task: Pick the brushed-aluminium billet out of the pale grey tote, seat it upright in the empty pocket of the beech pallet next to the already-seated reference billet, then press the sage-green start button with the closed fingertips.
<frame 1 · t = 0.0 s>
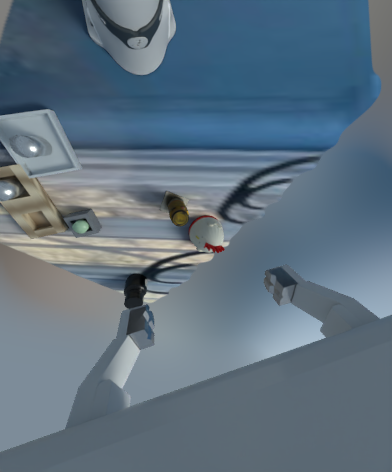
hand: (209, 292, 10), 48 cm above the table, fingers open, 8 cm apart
pallet: (32, 202, 47), on the table
start button: (81, 225, 49), point 4 cm above the table, slide at 0.0 cm
ink bottle: (137, 280, 70), on the table
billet: (41, 146, 40), resting on tote
kitchen timer: (204, 230, 65), on the table
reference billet: (18, 185, 43), point 1 cm above the table, touching pallet
condiment: (174, 204, 57), on the table
button housing: (86, 220, 53), on the table
tote: (43, 146, 41), on the table
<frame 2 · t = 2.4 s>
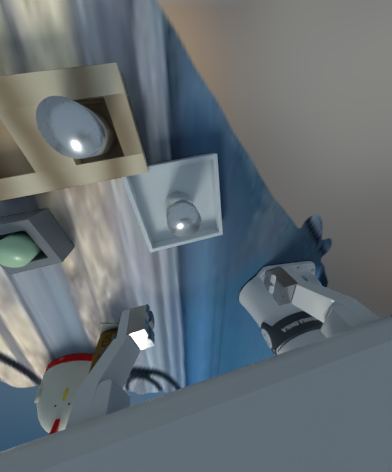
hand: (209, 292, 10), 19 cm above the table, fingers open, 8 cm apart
pallet: (55, 141, 19), on the table
start button: (18, 248, 21), point 4 cm above the table, slide at 0.0 cm
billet: (178, 204, 26), resting on tote
kitchen timer: (78, 365, 44), on the table
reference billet: (96, 134, 19), point 1 cm above the table, touching pallet
condiment: (114, 332, 40), on the table
button housing: (38, 234, 24), on the table
tote: (178, 203, 26), on the table
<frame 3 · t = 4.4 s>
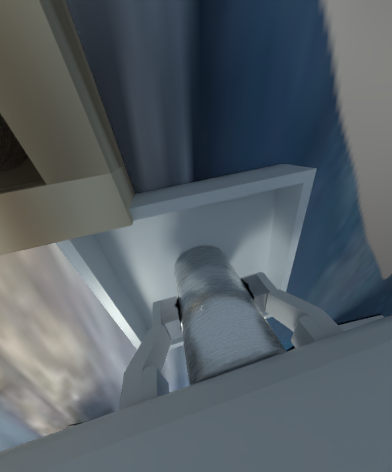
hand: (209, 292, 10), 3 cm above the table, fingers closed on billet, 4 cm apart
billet: (201, 268, 13), resting on tote, touching gripper
tote: (199, 264, 13), on the table
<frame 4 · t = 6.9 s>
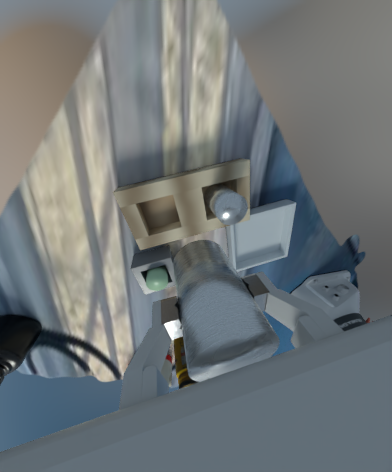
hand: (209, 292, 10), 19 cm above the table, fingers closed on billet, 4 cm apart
pallet: (187, 202, 27), on the table
start button: (157, 277, 29), point 4 cm above the table, slide at 0.0 cm
ink bottle: (16, 326, 33), on the table
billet: (199, 262, 13), point 16 cm above the table, touching gripper
kitchen timer: (150, 362, 52), on the table
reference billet: (216, 196, 27), point 1 cm above the table, touching pallet
condiment: (184, 334, 48), on the table
button housing: (157, 263, 32), on the table
tote: (255, 235, 34), on the table
when the fingers open (4 cm above the table, at t = 9.4 s): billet stays where it is, resting on pallet.
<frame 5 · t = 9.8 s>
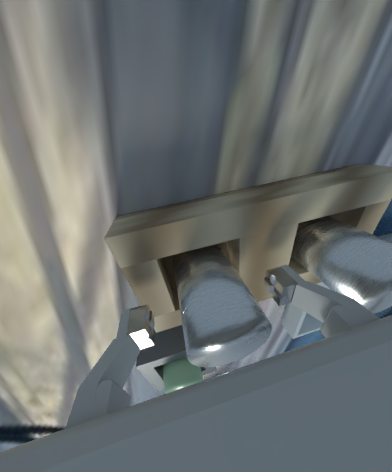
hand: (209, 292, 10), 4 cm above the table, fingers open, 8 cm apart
pallet: (246, 240, 15), on the table
start button: (182, 368, 16), point 4 cm above the table, slide at 0.0 cm
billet: (198, 257, 14), point 1 cm above the table, touching pallet
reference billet: (299, 231, 15), point 1 cm above the table, touching pallet
button housing: (177, 330, 19), on the table
tote: (330, 282, 22), on the table
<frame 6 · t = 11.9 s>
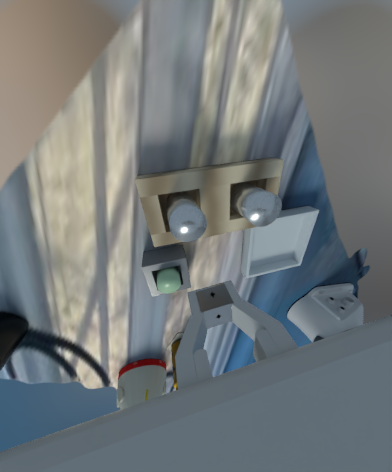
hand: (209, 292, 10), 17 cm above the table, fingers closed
pallet: (209, 199, 25), on the table
start button: (168, 278, 26), point 4 cm above the table, slide at 0.0 cm
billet: (180, 205, 24), point 1 cm above the table, touching pallet
kitchen timer: (143, 369, 49), on the table
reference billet: (240, 195, 25), point 1 cm above the table, touching pallet
condiment: (183, 341, 45), on the table
button housing: (167, 263, 30), on the table
tote: (271, 240, 33), on the table
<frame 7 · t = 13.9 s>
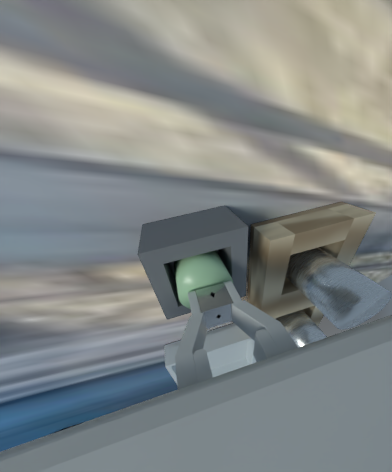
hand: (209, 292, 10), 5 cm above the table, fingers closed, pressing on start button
pallet: (282, 281, 21), on the table
start button: (201, 275, 12), point 4 cm above the table, slide at -0.4 cm, touching gripper
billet: (293, 256, 18), point 1 cm above the table, touching pallet
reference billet: (280, 307, 23), point 1 cm above the table, touching pallet
button housing: (191, 248, 15), on the table
tote: (212, 350, 26), on the table
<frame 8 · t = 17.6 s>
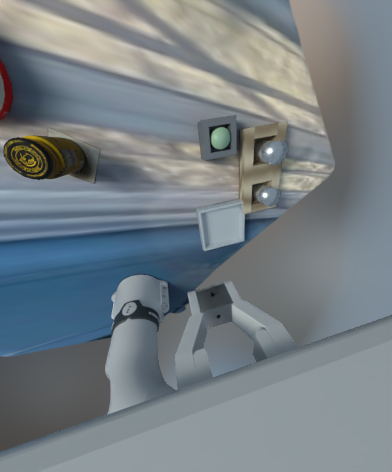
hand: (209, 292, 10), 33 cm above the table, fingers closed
pallet: (256, 171, 41), on the table
start button: (218, 138, 33), point 3 cm above the table, slide at -1.0 cm
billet: (259, 151, 38), point 1 cm above the table, touching pallet
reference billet: (256, 190, 44), point 1 cm above the table, touching pallet
condiment: (74, 157, 32), on the table
button housing: (214, 139, 35), on the table
tote: (220, 223, 47), on the table
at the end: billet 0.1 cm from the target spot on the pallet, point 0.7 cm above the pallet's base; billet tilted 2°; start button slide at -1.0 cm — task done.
